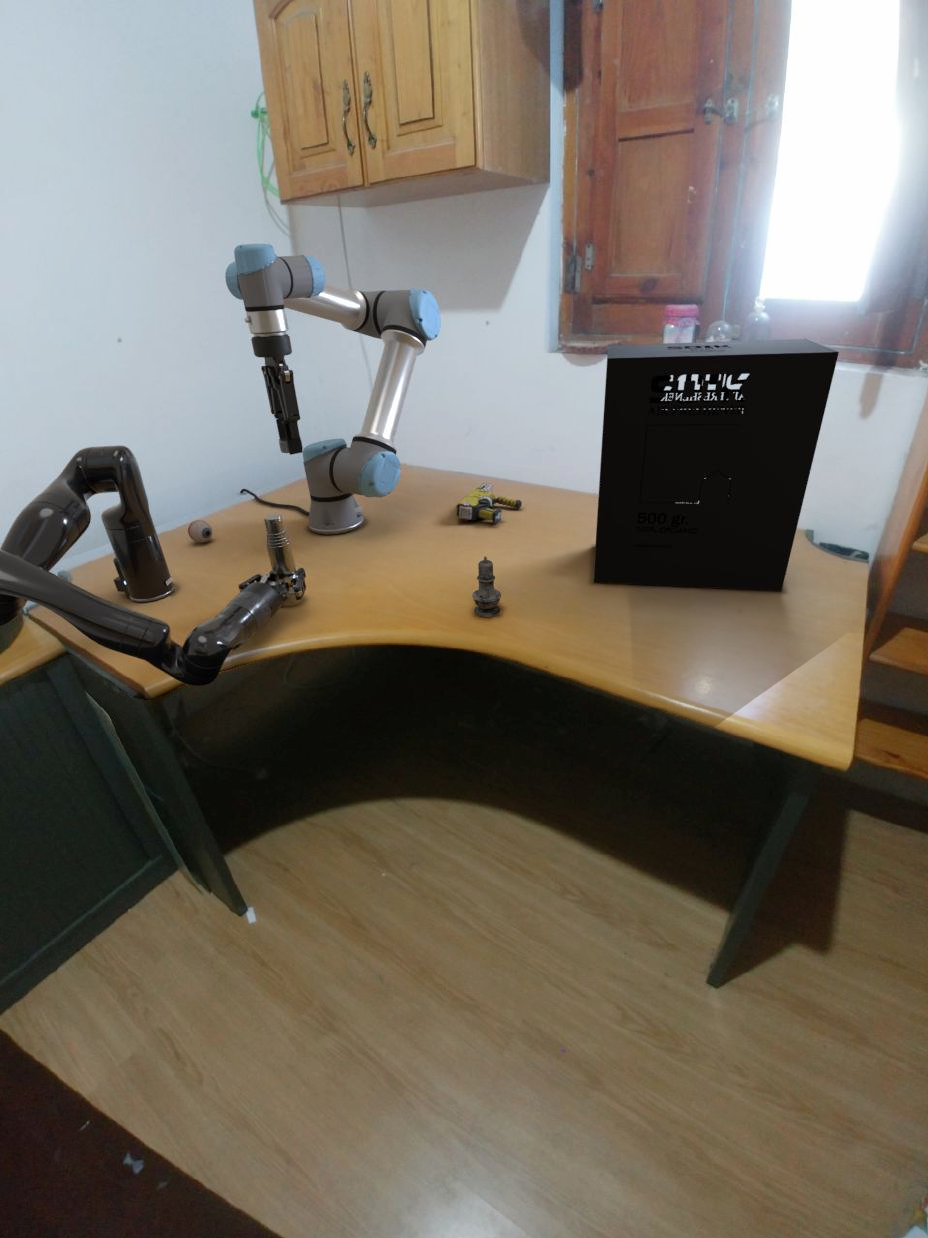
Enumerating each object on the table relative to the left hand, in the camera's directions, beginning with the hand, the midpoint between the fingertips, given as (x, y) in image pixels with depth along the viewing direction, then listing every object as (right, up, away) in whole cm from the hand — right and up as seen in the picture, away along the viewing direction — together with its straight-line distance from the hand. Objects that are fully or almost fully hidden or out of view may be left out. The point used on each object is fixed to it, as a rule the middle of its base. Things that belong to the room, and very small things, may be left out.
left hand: (291, 571), depth 130 cm
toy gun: (+46, +21, +43) cm, 67 cm away
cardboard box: (+86, +1, +6) cm, 86 cm away
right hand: (-1, +27, +3) cm, 27 cm away
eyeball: (-33, +10, +33) cm, 48 cm away
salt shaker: (+42, -9, -7) cm, 44 cm away
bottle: (0, -7, +1) cm, 7 cm away
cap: (-1, +29, +2) cm, 29 cm away
